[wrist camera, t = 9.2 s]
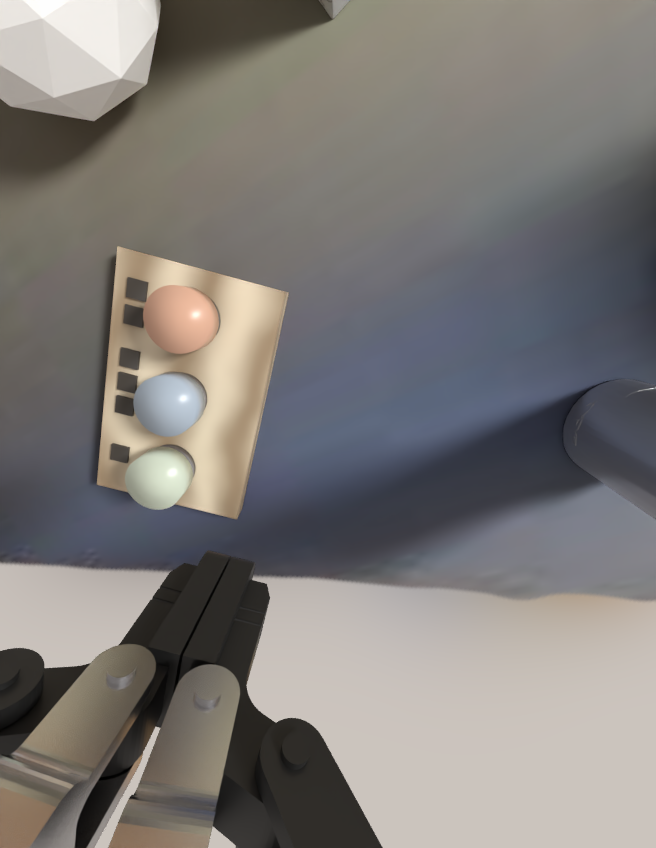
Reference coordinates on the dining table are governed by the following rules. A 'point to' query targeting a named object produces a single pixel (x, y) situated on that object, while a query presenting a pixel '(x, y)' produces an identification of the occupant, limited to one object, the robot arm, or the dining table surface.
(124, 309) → the button board
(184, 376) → the three dot button
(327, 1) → the coffee box
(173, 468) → the pale green button
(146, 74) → the geometric shape
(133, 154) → the dining table surface
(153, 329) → the two dot button
